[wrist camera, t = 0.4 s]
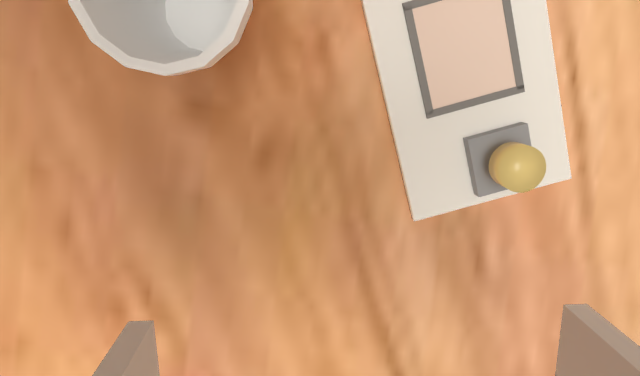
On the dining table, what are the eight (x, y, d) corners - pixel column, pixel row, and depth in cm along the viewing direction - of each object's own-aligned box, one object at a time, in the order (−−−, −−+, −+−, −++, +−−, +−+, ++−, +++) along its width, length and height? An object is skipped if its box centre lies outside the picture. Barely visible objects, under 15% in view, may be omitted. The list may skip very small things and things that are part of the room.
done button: (484, 148, 37) (495, 152, 35) (529, 136, 37) (542, 140, 35) (492, 191, 38) (503, 198, 36) (536, 179, 38) (549, 185, 36)
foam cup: (211, -81, 35) (162, -166, 23) (290, 21, 37) (286, -6, 25) (119, 3, 36) (24, -34, 24) (200, 98, 38) (153, 110, 26)
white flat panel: (330, -129, 35) (332, -141, 33) (514, -182, 35) (526, -197, 33) (412, 218, 42) (417, 225, 40) (566, 176, 41) (579, 181, 39)
